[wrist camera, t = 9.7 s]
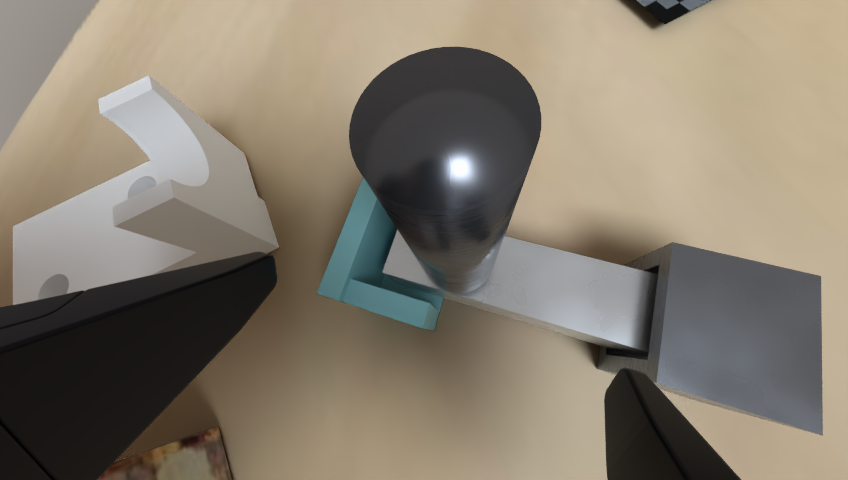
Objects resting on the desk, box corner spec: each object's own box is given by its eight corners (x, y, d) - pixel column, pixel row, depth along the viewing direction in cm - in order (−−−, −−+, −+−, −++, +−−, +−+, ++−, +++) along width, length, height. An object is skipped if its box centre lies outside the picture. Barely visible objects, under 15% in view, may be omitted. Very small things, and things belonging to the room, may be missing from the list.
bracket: (253, 161, 22) (148, 75, 15) (281, 248, 20) (173, 197, 12) (83, 243, 22) (-107, 197, 14) (91, 341, 19) (-130, 343, 12)
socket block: (466, 220, 18) (466, 179, 13) (434, 330, 17) (420, 328, 12) (394, 203, 19) (370, 158, 14) (357, 305, 17) (316, 293, 13)
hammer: (641, 291, 15) (1210, 141, 3) (633, 355, 14) (1315, 429, 3) (414, 231, 17) (312, 27, 6) (396, 283, 17) (241, 165, 5)
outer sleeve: (711, 295, 15) (820, 276, 11) (703, 402, 14) (822, 435, 9) (613, 270, 16) (672, 242, 12) (597, 368, 15) (656, 383, 10)
